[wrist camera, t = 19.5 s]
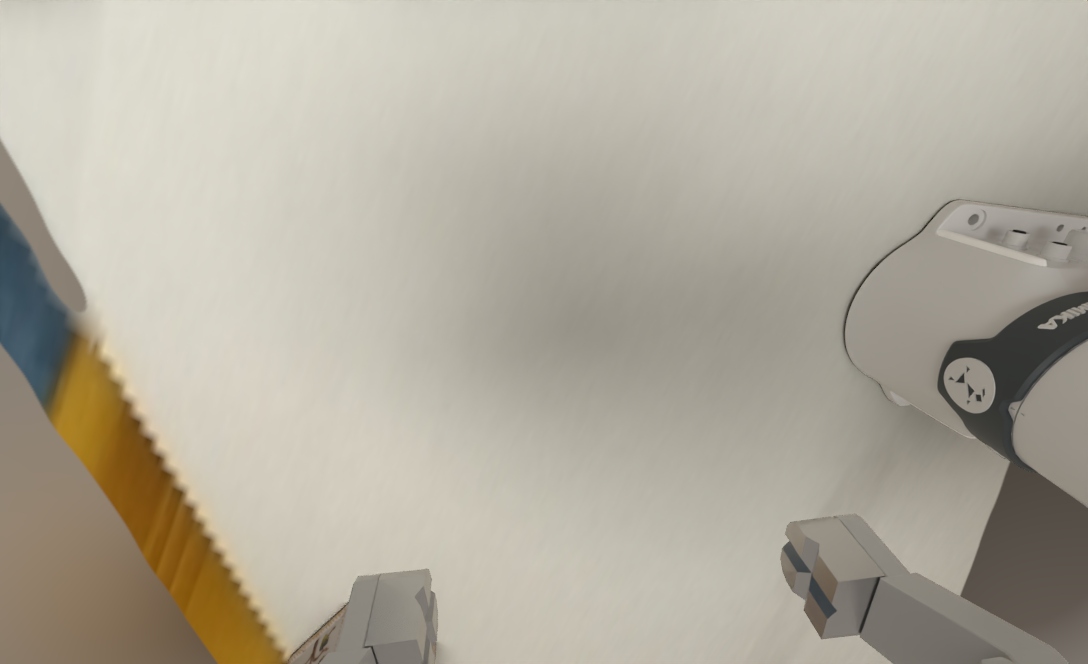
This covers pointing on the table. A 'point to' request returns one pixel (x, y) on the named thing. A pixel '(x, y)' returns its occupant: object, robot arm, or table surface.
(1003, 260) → the robot arm
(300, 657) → the decorative jar
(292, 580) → the table surface
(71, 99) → the table surface
